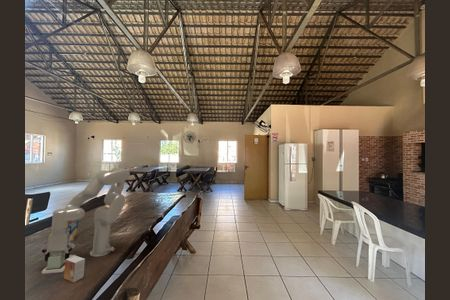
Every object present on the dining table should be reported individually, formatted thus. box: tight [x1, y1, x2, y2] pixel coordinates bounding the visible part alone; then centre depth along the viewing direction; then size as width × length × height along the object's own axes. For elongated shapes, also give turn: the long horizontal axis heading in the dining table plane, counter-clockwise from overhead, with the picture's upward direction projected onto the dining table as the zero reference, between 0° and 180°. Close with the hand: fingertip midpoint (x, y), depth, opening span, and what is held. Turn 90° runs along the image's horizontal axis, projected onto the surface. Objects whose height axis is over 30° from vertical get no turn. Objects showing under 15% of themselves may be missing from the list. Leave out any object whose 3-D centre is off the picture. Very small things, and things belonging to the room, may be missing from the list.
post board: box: [41, 250, 77, 275], centre depth 127 cm, size 18×10×10 cm, turn 16°
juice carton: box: [68, 220, 79, 243], centre depth 160 cm, size 12×8×24 cm, turn 11°
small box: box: [63, 255, 86, 283], centre depth 115 cm, size 8×6×10 cm
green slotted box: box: [46, 252, 65, 269], centre depth 122 cm, size 6×6×6 cm
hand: (57, 259), depth 123 cm, fingers open, 9 cm apart
